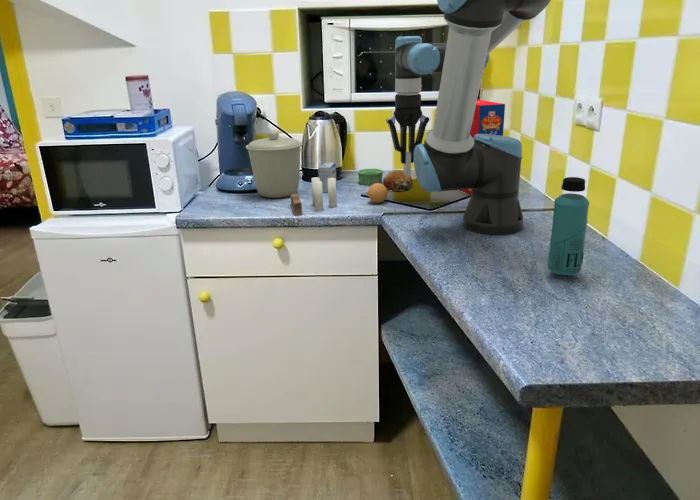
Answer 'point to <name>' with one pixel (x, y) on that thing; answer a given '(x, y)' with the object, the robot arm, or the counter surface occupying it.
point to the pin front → (332, 192)
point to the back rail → (296, 204)
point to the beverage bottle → (568, 229)
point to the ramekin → (370, 176)
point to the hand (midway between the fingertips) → (407, 173)
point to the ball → (377, 193)
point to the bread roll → (397, 181)
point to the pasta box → (487, 121)
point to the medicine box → (326, 174)
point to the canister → (275, 165)
